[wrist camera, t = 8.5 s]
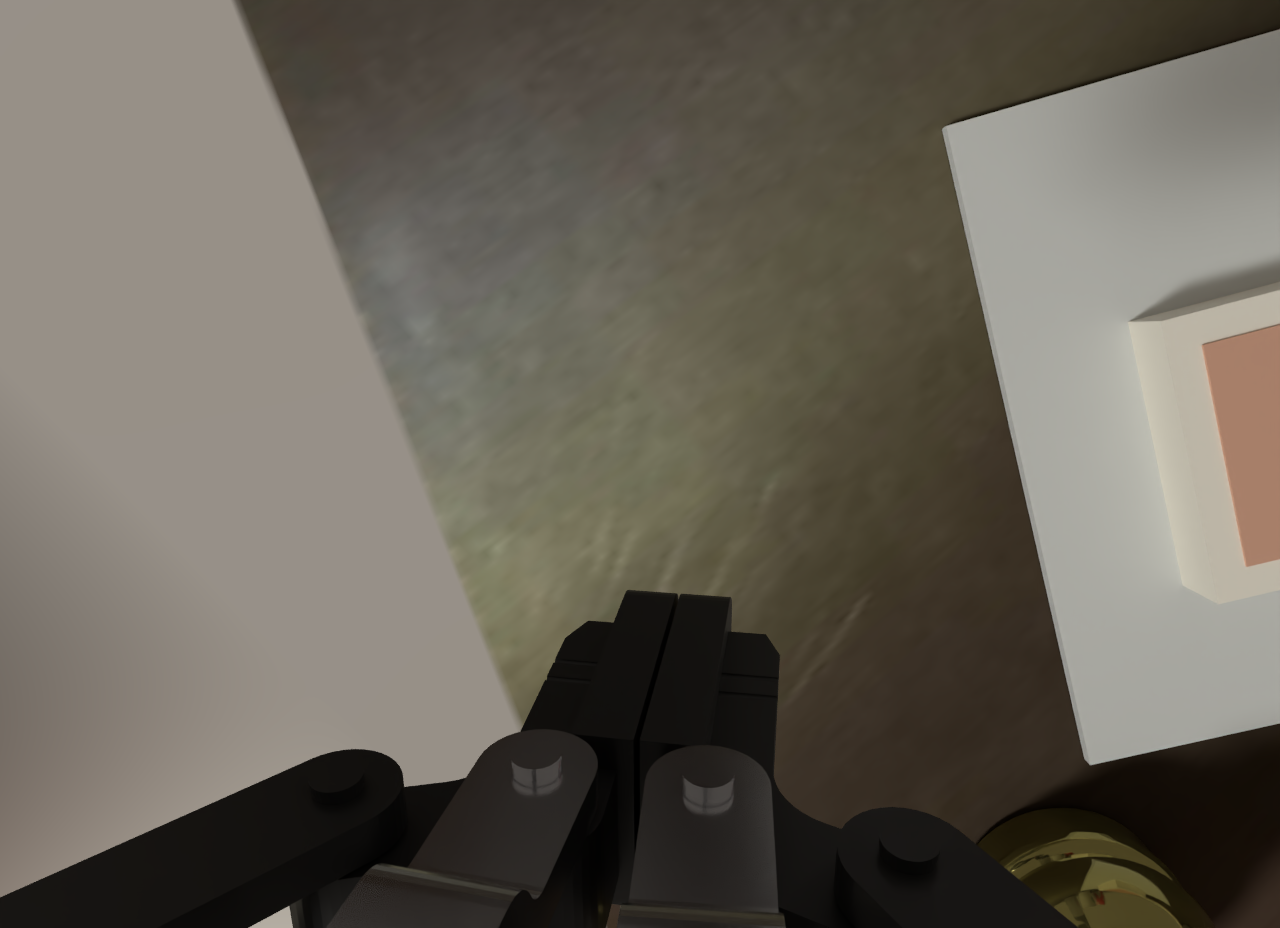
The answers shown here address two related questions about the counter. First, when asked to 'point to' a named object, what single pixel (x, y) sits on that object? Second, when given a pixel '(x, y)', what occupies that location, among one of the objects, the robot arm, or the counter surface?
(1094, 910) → the gold tall rounded piece
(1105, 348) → the mat
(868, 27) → the counter surface
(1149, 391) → the box
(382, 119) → the counter surface
